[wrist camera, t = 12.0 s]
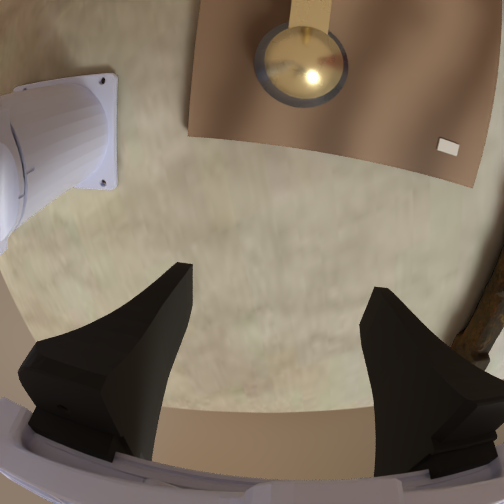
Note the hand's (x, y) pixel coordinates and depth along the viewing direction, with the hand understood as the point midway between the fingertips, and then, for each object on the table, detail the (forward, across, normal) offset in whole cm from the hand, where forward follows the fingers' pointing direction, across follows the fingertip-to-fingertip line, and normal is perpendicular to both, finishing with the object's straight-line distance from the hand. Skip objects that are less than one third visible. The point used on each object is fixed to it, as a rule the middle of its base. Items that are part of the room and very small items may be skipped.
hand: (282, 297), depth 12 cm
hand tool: (+10, -21, +6) cm, 24 cm away
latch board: (+9, -4, -12) cm, 16 cm away
